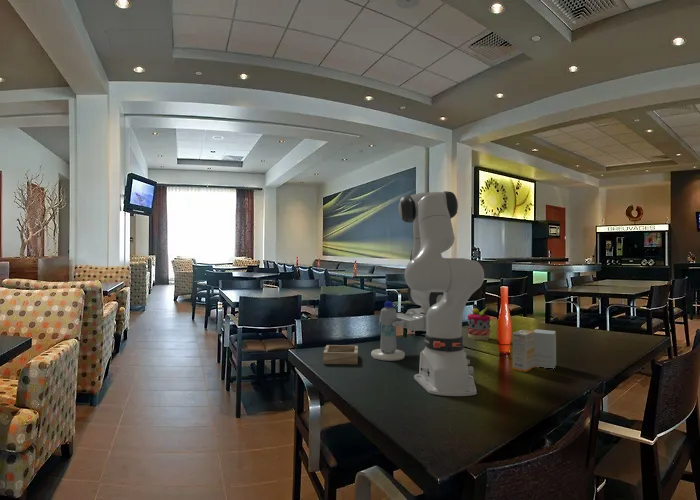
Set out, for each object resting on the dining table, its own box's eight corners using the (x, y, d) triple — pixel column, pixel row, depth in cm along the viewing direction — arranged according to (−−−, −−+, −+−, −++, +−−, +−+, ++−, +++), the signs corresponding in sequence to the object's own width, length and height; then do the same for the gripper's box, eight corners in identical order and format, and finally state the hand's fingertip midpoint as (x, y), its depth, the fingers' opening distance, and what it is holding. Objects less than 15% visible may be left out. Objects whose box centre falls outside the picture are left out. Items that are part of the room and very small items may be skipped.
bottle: (399, 351, 159) (400, 301, 159) (392, 355, 153) (392, 302, 153) (384, 349, 162) (384, 299, 162) (376, 352, 156) (377, 301, 157)
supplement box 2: (556, 365, 147) (556, 330, 147) (554, 370, 141) (554, 334, 141) (534, 362, 151) (534, 328, 151) (531, 366, 145) (531, 331, 145)
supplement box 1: (521, 365, 147) (521, 329, 147) (535, 368, 143) (535, 331, 143) (511, 369, 141) (512, 332, 141) (525, 372, 137) (525, 334, 137)
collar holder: (357, 364, 145) (357, 353, 145) (323, 363, 146) (323, 352, 146) (357, 355, 158) (357, 345, 158) (326, 355, 158) (326, 344, 158)
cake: (468, 340, 189) (469, 308, 189) (466, 335, 199) (466, 305, 199) (492, 341, 187) (492, 308, 187) (488, 336, 197) (488, 305, 197)
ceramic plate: (406, 361, 151) (406, 357, 151) (371, 360, 151) (371, 356, 151) (402, 352, 164) (402, 348, 164) (370, 351, 164) (370, 348, 164)
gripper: (399, 308, 173) (372, 310, 166) (430, 315, 155) (401, 317, 148) (399, 323, 173) (372, 325, 166) (430, 331, 155) (401, 334, 148)
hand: (386, 322), depth 157 cm, fingers open, 8 cm apart
